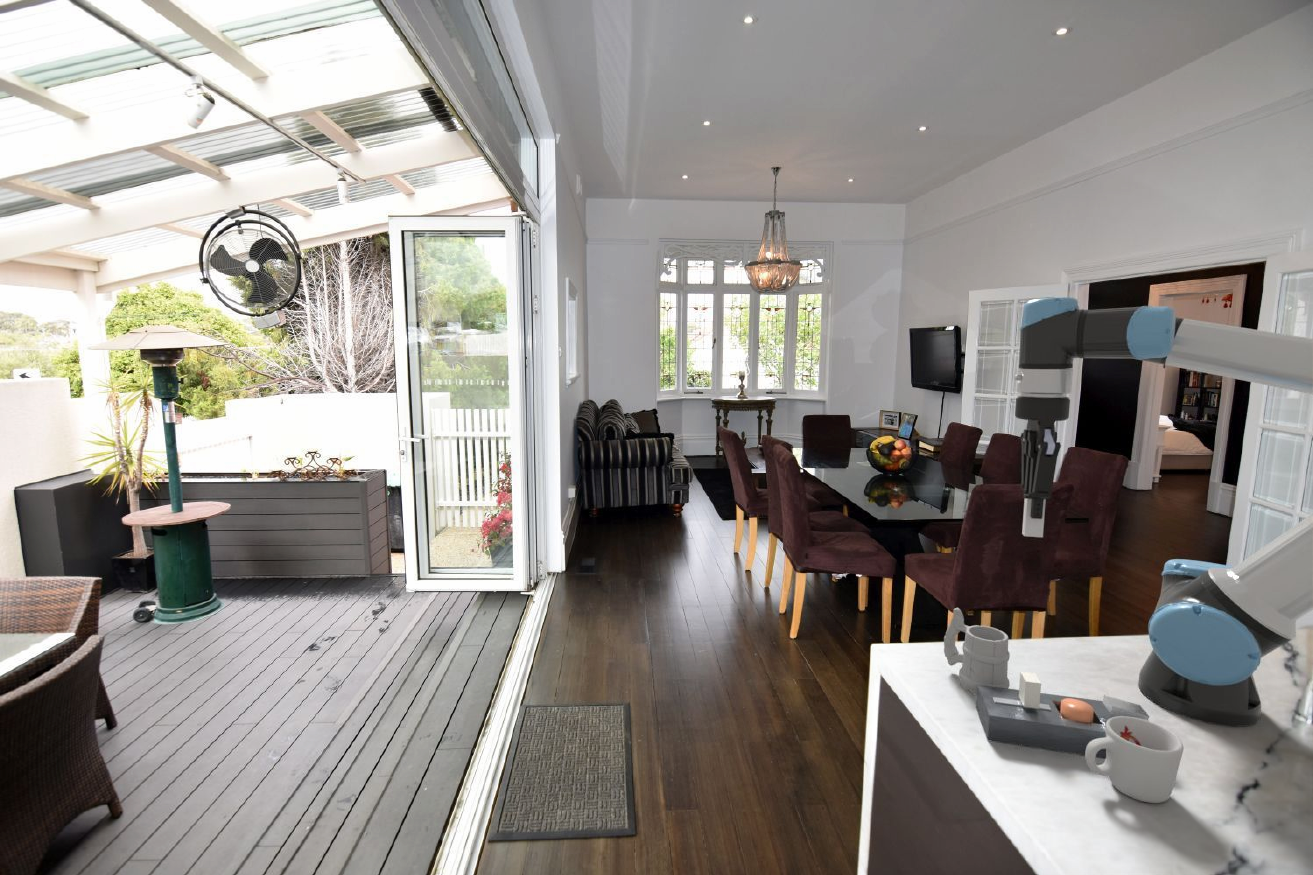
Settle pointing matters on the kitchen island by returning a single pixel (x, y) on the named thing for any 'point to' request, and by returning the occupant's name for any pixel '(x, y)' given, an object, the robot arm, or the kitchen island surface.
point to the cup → (1138, 758)
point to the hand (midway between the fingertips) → (1032, 535)
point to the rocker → (1124, 708)
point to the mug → (978, 654)
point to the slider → (1029, 690)
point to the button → (1076, 710)
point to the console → (1038, 721)
